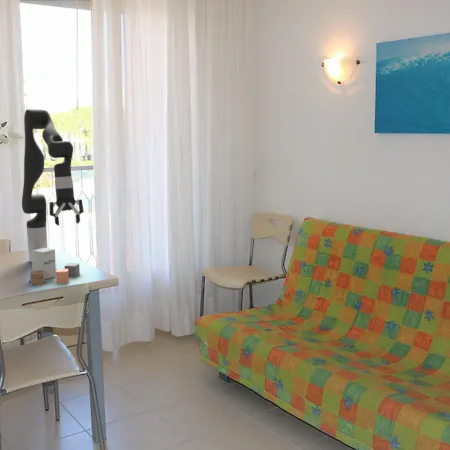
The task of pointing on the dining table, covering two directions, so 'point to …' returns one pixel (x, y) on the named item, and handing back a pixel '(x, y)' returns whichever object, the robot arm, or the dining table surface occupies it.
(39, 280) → the walnut cube
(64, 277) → the terracotta cube
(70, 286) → the dining table surface
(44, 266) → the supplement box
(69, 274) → the charcoal cube
